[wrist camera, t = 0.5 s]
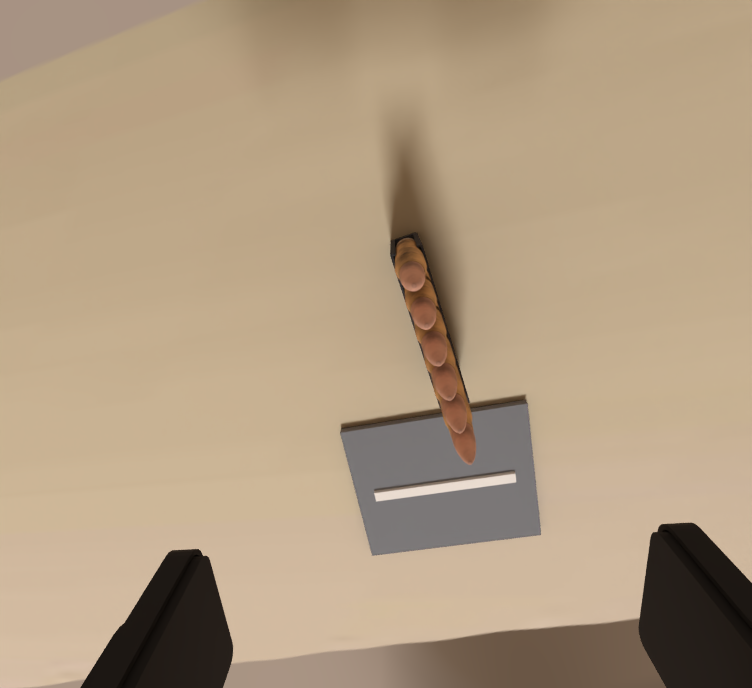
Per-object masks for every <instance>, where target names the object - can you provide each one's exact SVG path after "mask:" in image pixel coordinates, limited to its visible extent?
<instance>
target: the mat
mask: <svg viewBox="0 0 752 688" xmlns="http://www.w3.org/2000/svg"><path fill="white" fill-rule="evenodd" d="M470 410H471V413H472V425H473V430H474V431H473V432H474V435H475V440H476V456H475V460H474V462H473V463H472V464H471V465H468V464H467V463H465V462H464V461H463V460H462V459H461V457H460V456H459V455H458V453H457V451H456V449H455V447H454V444H453V441H452V438H451V435H450V432H449V429H448V428H447V426H446V425H445V422H444V419H443V415H442V413H438V414H432V415H426V416H419V417H413V418H407V419H400V420H394V421H388V422H381V423H375V424H369V425H362V426H356V427H349V428H343V429H341V432H340V434H341V438H342V442H343V445H344V449H345V453H346V457H347V461H348V465H349V468H350V472H351V476H352V480H353V484H354V488H355V491H356V495H357V499H358V503H359V507H360V511H361V514H362V518H363V522H364V526H365V530H366V534H367V537H368V541H369V545H370V549H371V553H372V556H374V555H382V554H390V553H398V552H406V551H414V550H423V549H431V548H439V547H447V546H455V545H463V544H471V543H479V542H487V541H495V540H504V539H512V538H520V537H528V536H536V535H541V528H540V519H539V509H538V499H537V490H536V480H535V471H534V461H533V451H532V442H531V432H530V422H529V413H528V403H527V402H526V400H521V401H514V402H508V403H502V404H495V405H489V406H483V407H476V408H470Z"/></svg>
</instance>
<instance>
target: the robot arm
mask: <svg viewBox="0 0 752 688" xmlns="http://www.w3.org/2000/svg"><path fill="white" fill-rule="evenodd" d="M639 635H640V638H641V642H642V644H643V646H644V648H645V650H646V652H647V654H648V656H649V657H650V659H651V661H652V663H653V664H654V666H655V668H656V670H657V672H658V673H659V675H660V677H661V679H662V680H663V682H664V684H665V686H666V688H752V583H751V582H750V581H749V580H748V579H747V578H746V576H745V575H744V574H743V573H742V572H741V571H740V570H739V569H738V568H737V567H736V566H735V565H734V564H733V563H732V562H731V560H730V559H729V558H728V557H727V556H726V555H725V554H724V553H723V552H722V551H721V550H720V549H719V548H718V547H717V546H716V544H715V543H714V542H713V541H712V540H711V539H710V538H709V537H708V536H707V535H706V534H705V533H704V532H703V531H702V530H701V529H700V528H699V527H698V526H697V525H696V524H694V523H675V524H661V525H660V526H659V528H658V532H653V533H652V535H651V539H650V546H649V554H648V561H647V568H646V576H645V583H644V591H643V598H642V606H641V613H640V621H639ZM232 656H233V644H232V639H231V636H230V632H229V629H228V625H227V621H226V618H225V614H224V610H223V607H222V603H221V599H220V596H219V592H218V588H217V585H216V581H215V577H214V574H213V570H212V567H211V563H210V560H209V557H207V556H203V555H202V553H201V551H200V550H199V549H191V550H172V551H171V552H169V553H168V554H167V556H166V557H165V559H164V560H163V562H162V563H161V565H160V567H159V568H158V570H157V572H156V573H155V575H154V576H153V578H152V580H151V581H150V583H149V584H148V586H147V588H146V589H145V591H144V592H143V594H142V596H141V597H140V599H139V601H138V602H137V604H136V605H135V607H134V609H133V610H132V612H131V613H130V615H129V617H128V618H127V620H126V621H125V623H124V624H123V625H122V626H120V627H119V629H118V630H117V631H116V632H115V634H114V635H113V637H112V638H111V640H110V641H109V643H108V645H107V646H106V648H105V649H104V651H103V653H102V654H101V656H100V657H99V659H98V661H97V662H96V664H95V665H94V667H93V668H92V670H91V672H90V673H89V675H88V676H87V678H86V680H85V681H84V683H83V684H82V686H81V688H223V686H224V683H225V680H226V677H227V674H228V671H229V668H230V665H231V661H232Z"/></svg>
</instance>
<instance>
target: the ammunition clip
mask: <svg viewBox="0 0 752 688" xmlns="http://www.w3.org/2000/svg"><path fill="white" fill-rule="evenodd" d="M390 256H391V259H392V262H393V265H394V268H395V272H396V275H397V278H398V281H399V284H400V287H401V290H402V293H403V296H404V299H405V302H406V306H407V309H408V311H409V314H410V317H411V320H412V324H413V327H414V330H415V333H416V336H417V339H418V342H419V345H420V348H421V351H422V354H423V357H424V360H425V364H426V367H427V370H428V373H429V376H430V379H431V382H432V385H433V388H434V391H435V395H436V397H437V400H438V403H439V406H440V409H441V411H442V415H443V419H444V422H445V425H446V426H447V428H448V429H449V432H450V435H451V438H452V441H453V444H454V447H455V449H456V451H457V453H458V455H459V456H460V457H461V459H462V460H463V461H464V462H465V463H467V464H468V465H471V464H472V463H473V462H474V460H475V456H476V440H475V435H474V432H473V431H474V430H473V425H472V413H471V410H470V407H469V403H470V401H469V398H468V395H467V391H466V388H465V385H464V381H463V378H462V375H461V371H460V368H459V365H458V361H457V358H456V355H455V351H454V348H453V345H452V342H451V338H450V335H449V332H448V328H447V325H446V322H445V318H444V315H443V312H442V308H441V305H440V302H439V298H438V295H437V292H436V288H435V285H434V282H433V279H432V275H431V272H430V269H429V265H428V262H427V259H426V255H425V252H424V249H423V245H422V243H421V241H420V238H419V236H418V234H417V233H416V232H415V233H412V234H410V235H407V236H404V237H401V238H398V239H395V240H392V241H391V251H390ZM403 286H404V287H403Z"/></svg>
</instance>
